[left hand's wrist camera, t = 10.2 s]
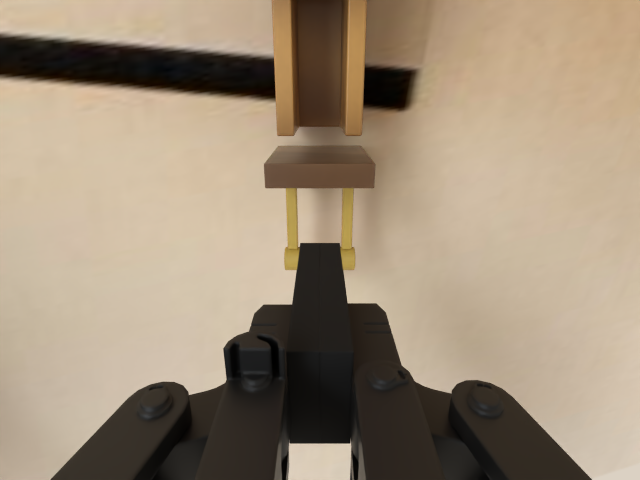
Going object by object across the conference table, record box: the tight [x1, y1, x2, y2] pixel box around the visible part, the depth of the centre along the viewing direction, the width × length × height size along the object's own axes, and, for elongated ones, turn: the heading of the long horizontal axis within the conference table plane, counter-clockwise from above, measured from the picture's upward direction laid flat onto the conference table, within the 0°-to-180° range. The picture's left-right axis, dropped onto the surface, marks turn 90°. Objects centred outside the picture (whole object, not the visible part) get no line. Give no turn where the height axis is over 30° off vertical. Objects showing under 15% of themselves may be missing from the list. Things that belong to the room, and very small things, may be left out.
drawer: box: [264, 0, 375, 270], centre depth 20 cm, size 21×5×7 cm, turn 0°
